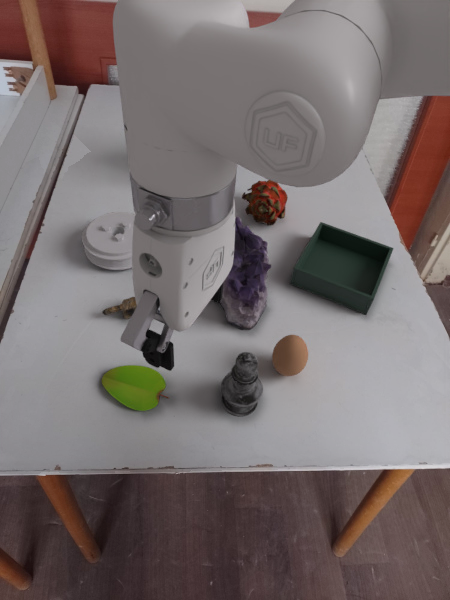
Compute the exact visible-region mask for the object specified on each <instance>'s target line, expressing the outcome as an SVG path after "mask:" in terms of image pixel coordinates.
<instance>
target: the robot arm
mask: <svg viewBox="0 0 450 600" xmlns="http://www.w3.org/2000/svg"><path fill="white" fill-rule="evenodd" d="M112 32H113V33H112V35H113V43H114V45H113V46H114V53H115V60H116V61H115V63H116V69H117V78H118V85H119V87H118V88H119V95H120V105H121V113H122V123H123V130H124V138H125V146H126V154H127V155H126V156H127V163H128V171H129V172H128V173H129V180H130V188H131V189H130V191H131V197H132V205H133V206H132V207H133V211H134V214H136V215H135V220H134V227H133V242H132V268H131V271H132V272H131V273H132V285H133V294H134V297H135V300H136V304H137V308H136V309H135V311H134V313H133V315H132V316H131V317H130V318H129V321H128V322H127V324H126V326H125V328H124V330H123V332H122V333H121V336H120V342H121V343H123V344H125V345H127V346H129V347H131V348H133V349H136V350H137V351H139V352H142V357H143V358H144V360H145V362H146V363H147V364H149V365H150V366H152V367H154V368H156V369H157V368H158V369H159V368H162V369H164V370H167V371H169V372H172V370H173V369H174V367H175V348H174V343H173V342H172V341H171V339H172V336H173V334H174V331H175V332H178V333H181V332H183V331H185V330H187V329H188V328H190V327H191V326H192V325H193V324H194V323H195V321H196V320H197V319H198V317H200V315H201V313H203V311H204V310H205V308H206V307H207V305H208V304H209V303H210V302H211V301H212V302H215V303H220V301H221V299H222V295H223V284H224V280H225V279H226V277H227V276H228V274H229V272H230V270H231V268H232V265H233V259H234V244H235V218H236V202H235V194H236V193H235V191H236V182H237V172H238V166H240V167H242V168H244V169H245V170H248V171H249V172H251V173H253V174H255V175H258V176H260V177H262V178H264V179H266V180H267V181H268V180H271V181H274V182H276V183H278V184H279V185H285V186H289V187H295V188H311V187H316V186H320V185H324V184H326V183H329V182H331V181H333V180H335V179H337V178H339V176H341V175H342V174H343V173H344V172H346V171H347V170H348V169H349V168H350V167H351V165H352V164H353V163H354V162H355V160H356V159H357V158H358V156H359V154H360V152H361V151H362V149H363V147H364V145H365V143H366V140H367V139H368V135H369V133H370V129H371V126H372V123H373V120H374V117H375V113H376V111H377V106H378V104H379V102H380V100H389V99H399V98H412V97H413V98H414V97H433V96H434V97H435V96H436V97H450V0H293V1H292V2H291V3H290V4H289V5H288V6H287V7H286V8H285V9H284V11H282V13H281V14H280V15H279V16H278V17H277V18H276V20H274V21H272V22H269V23H266V24H263V25H260V26H255V27H250V21H249V15H248V11H247V10H246V8H245V6H244V4H243V2H242V1H241V0H117V2H116V4H115V6H114V10H113V14H112ZM154 320H155V321H157V322H159V323H161V324H163V327H162V331H161V332H160V333H158V332H157V331H154V330H152V329H151V328H150V327H151V325H152V322H153V321H154Z"/></svg>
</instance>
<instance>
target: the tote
mask: <svg viewBox="0 0 450 600" xmlns="http://www.w3.org/2000/svg"><path fill="white" fill-rule="evenodd" d="M393 251H394V247H391V246H389V245H386V244H383V243H380V242H379V241H378V242H377V241H375V240H372V239H369V238H366V237H364V236H361V235H359V234H356V233H353V232H351V231H347V230H345V229H341V228H339V227H336V226H333V225H330V224H328V223H325V222H323V221H320V222H319V224H318V226H317V227H316V229H315V231H314V233H313V234H312V236H311V237H310V239H309V241H308V243H307V245H306V246H305V248H304V249H303V252H302V253H301V254H300V256H299V258H298V260H297V262H296V263H295V265H294V267H293V269H292V273H291V278H290V280H289V285H292V286H295V287H297V288H299V289H301V290H304V291H307V292H309V293H312V294H314V295H316V296H319V297H322V298H323V299H326V300H329V301H331V302H334V303H337V304H339V305H341V306H343V307H346V308H348V309H351V310H354V311H356V312H359V313H361V314H364V315H367V314H368V313H369V310H370V308H371V306H372V304H373V302H374V300H375V297H376V296H377V293H378V289H379V287H380V285H381V282H382V280H383V277H384V274H385V272H386V270H387V267H388V264H389V262H390V260H391V256H392V254H393Z"/></svg>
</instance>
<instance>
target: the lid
mask: <svg viewBox="0 0 450 600" xmlns="http://www.w3.org/2000/svg"><path fill="white" fill-rule="evenodd" d="M135 215H136V214H135V213H132V212H127V211H111V212H108V213H104V214H101V215H100V216H97V217H96V218H94V219H92V220H91V221H90V222H89V223H88V224H87V225H86V226H85V227H84V229H83V231H82V234H81V242H82V245H83V249H84V250H83V251H84V254H85V256H86V259H88V260H89V261H90V263H92V264H93V265H94V266H96V267H99V268H101V269H104V270H105V269H106V270H110V271H122V270H123V271H124V270H129V269H132V242H133V227H134V220H135Z"/></svg>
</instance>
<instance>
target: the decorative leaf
mask: <svg viewBox="0 0 450 600" xmlns="http://www.w3.org/2000/svg"><path fill="white" fill-rule="evenodd" d="M101 385H102V386H103V388H104V389H105V391H106V392H107V393H108V394H109V395H110V396H112V398H114V399H115V400H116V401H118V402H119V403H120V404H122V405H123V406H125V407H127V408H129V409H132V410H134V411H139V412H143V411H145V412H146V411H149V410H152V409H154V408H157V406H158V405H159V403H160V397H163V398H166V399H170V397H169V396H167V395H163V394H162V393H163V392H164V390H165V389H166V386H167V384H166V380H165V378H164V376H163V375H162V374H161V373H160V372H158V371H157V370H155V369H154V368H151V367H149V366H146V365H145V366H144V365H138V364H137V365H136V364H127V365H119V366H116V367H113V368H110V369H108V371H106V372H105V373H104V374H103V375H102V377H101Z"/></svg>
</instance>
